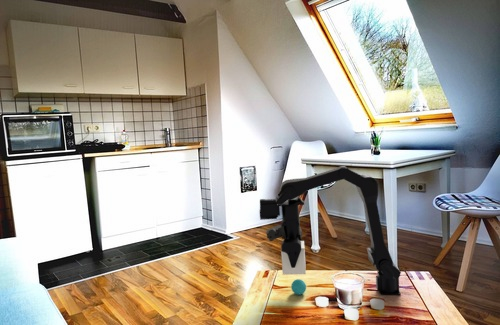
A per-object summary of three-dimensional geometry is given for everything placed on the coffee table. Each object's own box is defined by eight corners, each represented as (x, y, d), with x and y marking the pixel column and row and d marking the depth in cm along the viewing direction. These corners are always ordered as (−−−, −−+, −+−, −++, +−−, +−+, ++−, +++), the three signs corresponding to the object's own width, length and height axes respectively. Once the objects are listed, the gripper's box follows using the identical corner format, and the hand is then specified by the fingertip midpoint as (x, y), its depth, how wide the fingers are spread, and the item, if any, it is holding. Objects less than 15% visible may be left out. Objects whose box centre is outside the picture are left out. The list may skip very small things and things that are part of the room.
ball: (298, 273, 126) (288, 283, 127) (298, 280, 121) (287, 289, 122) (309, 284, 126) (298, 293, 127) (309, 291, 121) (298, 300, 122)
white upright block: (284, 265, 128) (282, 241, 127) (305, 265, 127) (304, 240, 126) (282, 274, 121) (281, 248, 120) (305, 274, 120) (304, 248, 119)
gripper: (269, 212, 132) (272, 253, 134) (263, 226, 114) (267, 274, 116) (300, 210, 131) (302, 253, 132) (299, 225, 112) (302, 274, 114)
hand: (293, 263), depth 124 cm, fingers closed on white upright block, 7 cm apart
